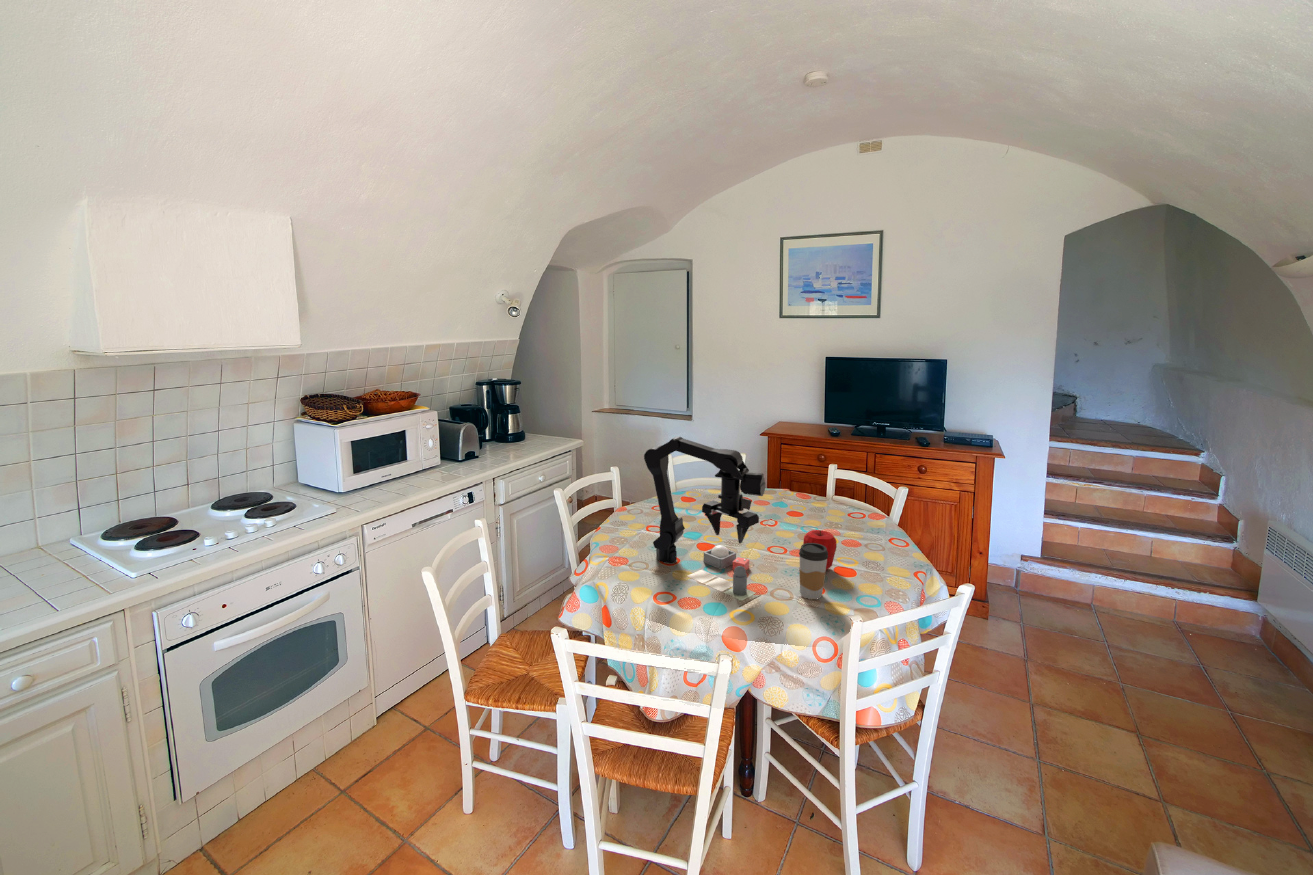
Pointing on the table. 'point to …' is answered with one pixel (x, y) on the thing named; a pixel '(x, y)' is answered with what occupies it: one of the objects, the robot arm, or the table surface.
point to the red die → (741, 563)
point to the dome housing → (719, 559)
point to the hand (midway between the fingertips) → (728, 538)
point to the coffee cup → (812, 569)
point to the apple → (823, 543)
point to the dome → (720, 551)
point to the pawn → (739, 581)
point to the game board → (719, 584)
